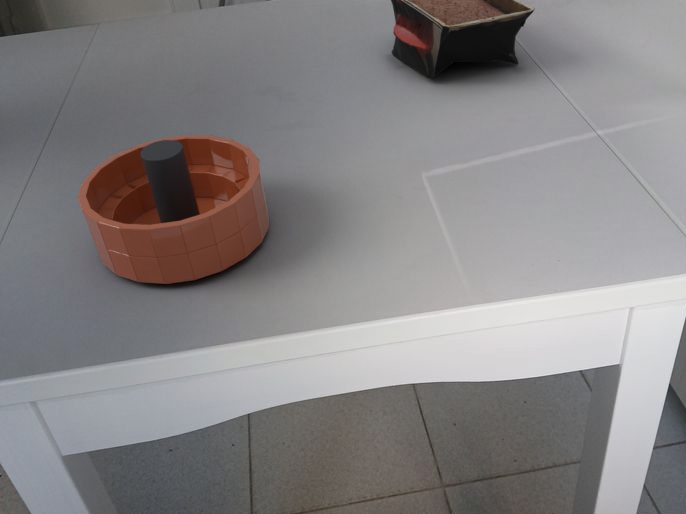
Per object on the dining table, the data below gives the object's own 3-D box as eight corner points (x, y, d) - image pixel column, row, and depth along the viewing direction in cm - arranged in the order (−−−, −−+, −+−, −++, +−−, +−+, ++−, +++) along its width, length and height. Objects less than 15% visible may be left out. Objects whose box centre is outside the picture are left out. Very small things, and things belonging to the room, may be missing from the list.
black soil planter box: (480, 42, 98) (473, -40, 93) (547, 68, 84) (544, -26, 78) (382, 71, 97) (368, -10, 91) (432, 103, 82) (420, 9, 76)
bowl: (89, 300, 60) (64, 240, 56) (111, 203, 71) (92, 147, 67) (273, 275, 61) (262, 214, 57) (266, 182, 72) (256, 125, 68)
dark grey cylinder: (163, 244, 64) (138, 162, 59) (165, 222, 67) (142, 142, 61) (202, 238, 64) (181, 157, 59) (203, 217, 67) (183, 137, 62)
